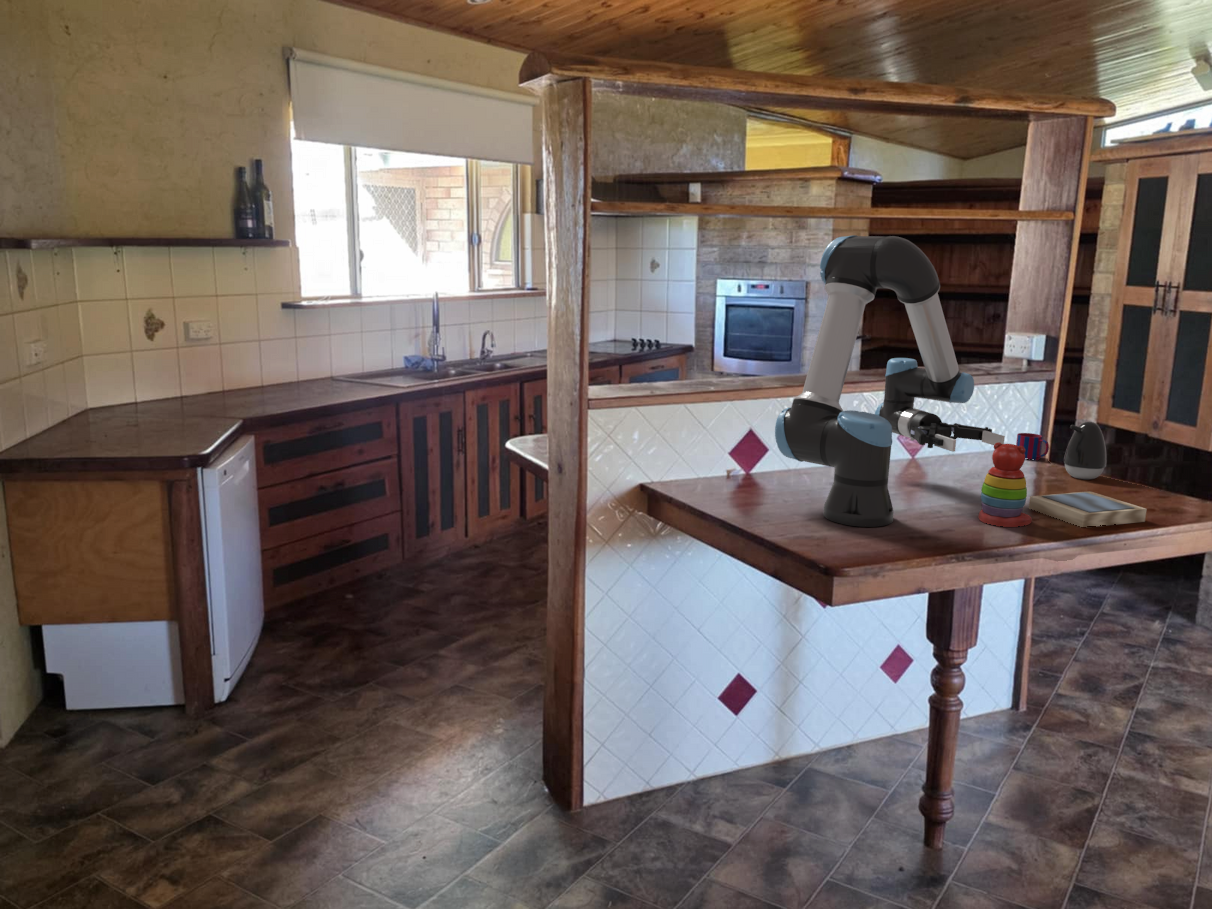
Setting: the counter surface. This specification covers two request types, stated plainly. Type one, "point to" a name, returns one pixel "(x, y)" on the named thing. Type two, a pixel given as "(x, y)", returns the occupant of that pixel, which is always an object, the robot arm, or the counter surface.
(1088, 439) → the pump dispenser
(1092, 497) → the plinth
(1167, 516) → the counter surface
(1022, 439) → the mug
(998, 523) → the stacking bear
